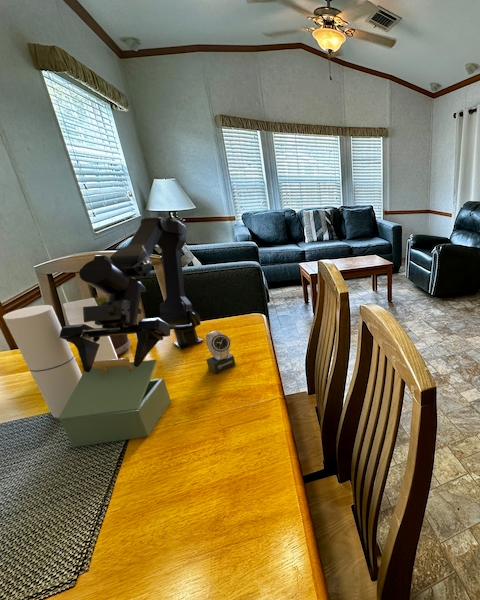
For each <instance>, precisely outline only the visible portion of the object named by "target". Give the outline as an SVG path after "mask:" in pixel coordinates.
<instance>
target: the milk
mask: <svg viewBox="0 0 480 600" xmlns="http://www.w3.org/2000/svg"><path fill="white" fill-rule="evenodd" d="M62 306H63V309H64V312H65V316H66V320H67V323H68V325H78V324H86V325H88V326H90V327H92V328H102V326H101V325H99V326H98V325H96V324H95V321H90V322H84V317H83V307H87V306H98V305H97V303H96V298H95V297H89V298H84V299H79V300H74V301H68V302H64V303H63V304H62ZM96 343H98V344H100V345H99V348H98V351H97V354H96V357H95V360H94V362H95V361H103V360H112V359H119V357H117V354H116V352H115V349H114V347H113V344H112V341H111V339H110V336H103V337H100V339H99V340H98V341H97V342H96Z"/></svg>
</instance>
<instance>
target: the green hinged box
mask: <svg viewBox="0 0 480 600" xmlns="http://www.w3.org/2000/svg"><path fill="white" fill-rule="evenodd" d="M171 403H172V399H171V397H170V394H169V391H168V388H167V384H166V382H165V379H164V378H163V377H161V378H154V379H150V381H149V384H148V386H147V389H146V392H145V394H144V397H143V399H142V402H141V405H140V407H139V410H134V411H126V412H119V413H111V414H104V415H96V416H89V417H81V418H74V419H66V420H59V421H60V424H61V426H62V429H63V430H64V432H65V434H66V436H67V438H68V441H69V442H70V444H71V446H72V448H78V447H85V446H92V445H98V444H105V443H112V442H119V441H125V440H133V439H139V438H147V437H149V436H150V434H151V433H152V431H153V430H154V428H155V427H156V425H157V424H158V422H159V420H160V419H161V417H162V416H163V414H164V413H165V411H166V410H167V408H168V407H169V406H170V404H171Z"/></svg>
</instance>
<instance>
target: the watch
mask: <svg viewBox="0 0 480 600" xmlns="http://www.w3.org/2000/svg"><path fill="white" fill-rule="evenodd" d="M205 341H206V342H205V344H206V346H207V349H208V351H209V353H210V355H212V356H211V357H209V358H206V365H207V368H208V370H210V372H212V373H214V374H215V375H217V374H220V373H222V372H224V371H226V370H228V369H230V368H232V367H235V366H236V362H235V357H234V355H233V354H231V353H230V351H231V341H232V339H231V338H230V337H229V336H227V335H225V334H224V333H223V332H221V331H218V330H212V331H211V332H207V333H206V334H205Z"/></svg>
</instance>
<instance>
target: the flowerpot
mask: <svg viewBox="0 0 480 600" xmlns="http://www.w3.org/2000/svg"><path fill="white" fill-rule="evenodd" d="M108 295H109V294H105V293H103V292H100V294H99V295H98V294H97V295H96V296H94V299H95V301H96V303H97V305H98V306H101V304H102V303H103V302H107V300H108ZM128 335H129V334H125V335H114V336H110V339H111V341H112V344H113V347H114V349H115V352H116V354H117V357H118V358H119V357H121V356H123V355H125V354H126V353H127V351H129V348H130V347H131V341H132V340H131V338H129V337H128ZM77 353H78V358H80V355H79V352H78V351H77Z"/></svg>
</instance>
